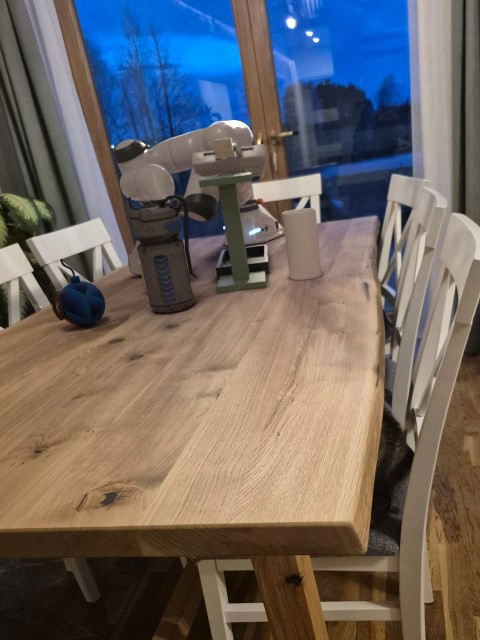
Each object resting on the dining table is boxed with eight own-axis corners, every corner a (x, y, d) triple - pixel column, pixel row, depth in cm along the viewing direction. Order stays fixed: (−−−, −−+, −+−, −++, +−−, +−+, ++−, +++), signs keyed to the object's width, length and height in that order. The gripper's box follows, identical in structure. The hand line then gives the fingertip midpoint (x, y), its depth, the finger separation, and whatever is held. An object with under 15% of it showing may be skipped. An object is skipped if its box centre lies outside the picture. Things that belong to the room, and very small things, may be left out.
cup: (284, 280, 147) (276, 214, 140) (297, 272, 153) (289, 209, 147) (315, 279, 143) (308, 212, 137) (326, 271, 150) (320, 207, 143)
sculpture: (145, 283, 186) (177, 264, 186) (138, 286, 169) (173, 265, 169) (125, 252, 183) (158, 233, 183) (117, 252, 166) (152, 231, 166)
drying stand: (220, 281, 153) (203, 177, 142) (265, 276, 153) (251, 171, 142) (217, 293, 142) (198, 181, 131) (266, 287, 142) (250, 174, 131)
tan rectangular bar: (221, 155, 155) (219, 139, 153) (236, 153, 155) (234, 137, 153) (216, 159, 135) (213, 140, 133) (233, 156, 135) (230, 138, 133)
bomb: (54, 328, 130) (34, 261, 123) (101, 315, 135) (84, 250, 129) (67, 336, 122) (46, 266, 116) (116, 322, 128) (99, 254, 122)
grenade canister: (205, 309, 130) (183, 192, 119) (146, 317, 129) (119, 200, 118) (205, 297, 139) (185, 188, 129) (150, 306, 138) (125, 196, 128)
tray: (223, 260, 179) (221, 250, 177) (268, 255, 179) (267, 244, 177) (217, 280, 155) (215, 268, 154) (269, 273, 155) (267, 261, 154)
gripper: (194, 164, 162) (184, 138, 148) (267, 155, 162) (263, 128, 149) (197, 186, 162) (187, 161, 148) (269, 177, 162) (267, 151, 148)
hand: (226, 144), depth 148 cm, fingers closed on tan rectangular bar, 2 cm apart
